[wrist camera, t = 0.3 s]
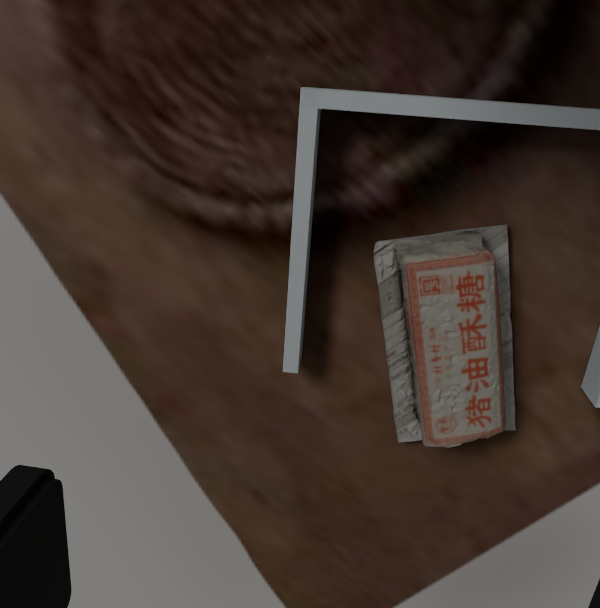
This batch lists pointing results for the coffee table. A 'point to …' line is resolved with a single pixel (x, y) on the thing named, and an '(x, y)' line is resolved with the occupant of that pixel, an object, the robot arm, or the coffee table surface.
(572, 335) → the coffee table surface
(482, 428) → the packaged product
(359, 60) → the coffee table surface
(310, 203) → the open frame
